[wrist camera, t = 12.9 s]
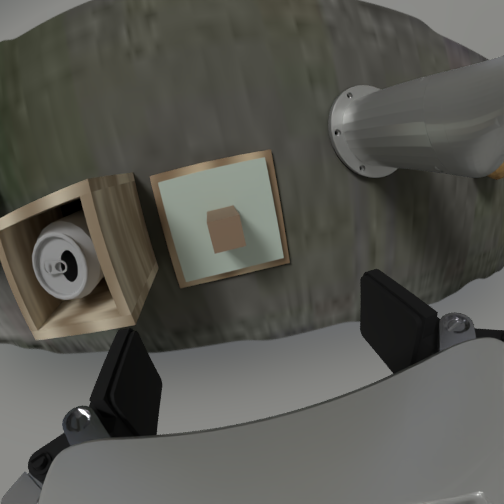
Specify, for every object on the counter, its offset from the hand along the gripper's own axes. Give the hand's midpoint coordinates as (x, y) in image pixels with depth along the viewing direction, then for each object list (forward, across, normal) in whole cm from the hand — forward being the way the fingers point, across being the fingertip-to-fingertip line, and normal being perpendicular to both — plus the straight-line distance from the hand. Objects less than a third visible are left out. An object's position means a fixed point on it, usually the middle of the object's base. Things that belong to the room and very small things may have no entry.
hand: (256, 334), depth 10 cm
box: (+23, +15, -2) cm, 28 cm away
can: (+23, +15, -2) cm, 28 cm away
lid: (+22, 0, 0) cm, 23 cm away
